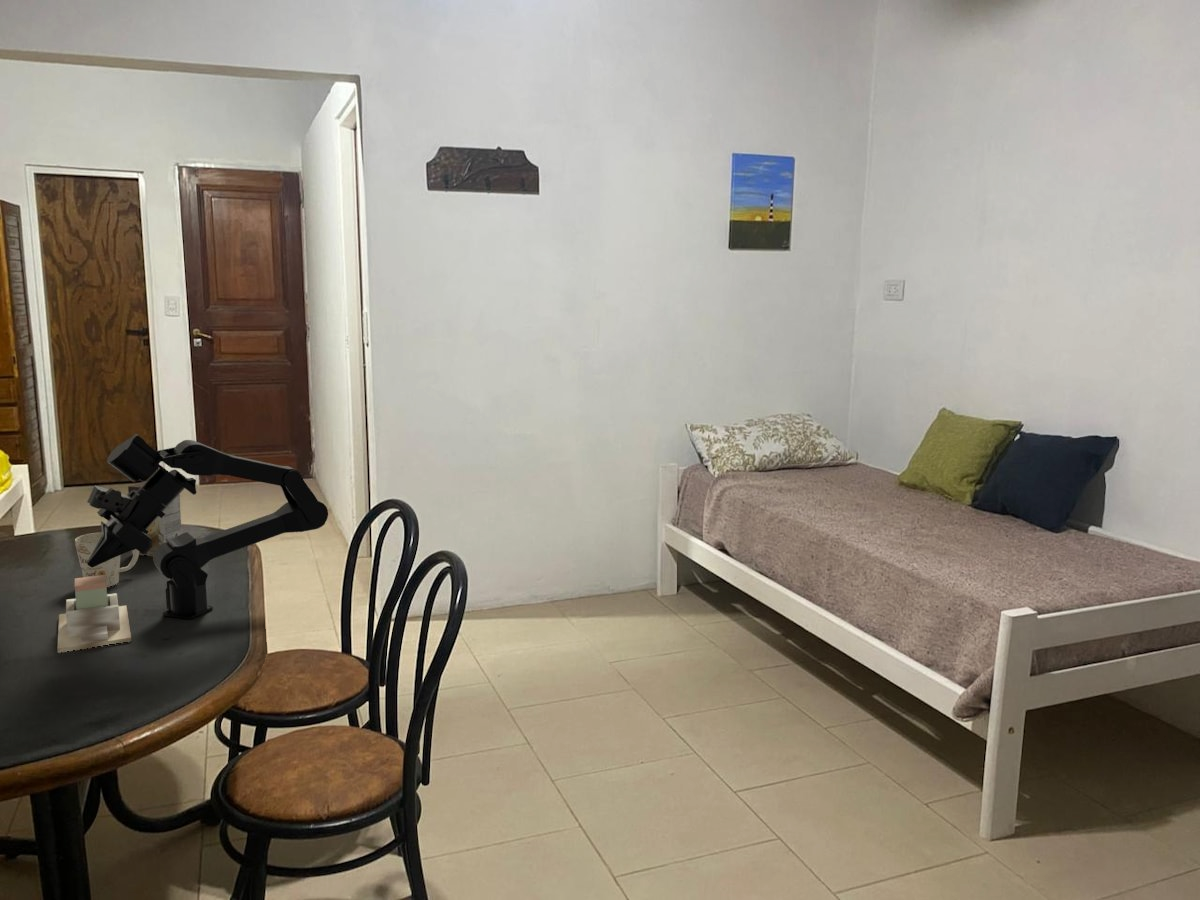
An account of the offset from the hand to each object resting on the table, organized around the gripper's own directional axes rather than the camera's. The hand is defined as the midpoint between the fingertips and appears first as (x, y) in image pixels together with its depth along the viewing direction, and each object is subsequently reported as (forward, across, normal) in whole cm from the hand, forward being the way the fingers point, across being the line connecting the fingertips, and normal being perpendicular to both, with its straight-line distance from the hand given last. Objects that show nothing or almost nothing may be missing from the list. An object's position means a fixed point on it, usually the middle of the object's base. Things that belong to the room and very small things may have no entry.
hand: (89, 565), depth 161 cm
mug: (+3, -28, +14) cm, 31 cm away
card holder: (+8, 0, +8) cm, 12 cm away
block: (+7, 0, +7) cm, 10 cm away
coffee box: (-6, -44, +22) cm, 50 cm away
